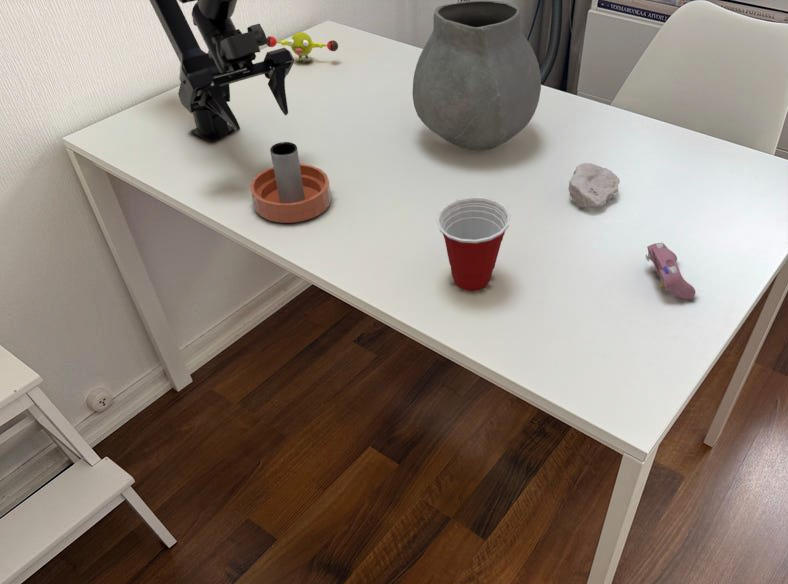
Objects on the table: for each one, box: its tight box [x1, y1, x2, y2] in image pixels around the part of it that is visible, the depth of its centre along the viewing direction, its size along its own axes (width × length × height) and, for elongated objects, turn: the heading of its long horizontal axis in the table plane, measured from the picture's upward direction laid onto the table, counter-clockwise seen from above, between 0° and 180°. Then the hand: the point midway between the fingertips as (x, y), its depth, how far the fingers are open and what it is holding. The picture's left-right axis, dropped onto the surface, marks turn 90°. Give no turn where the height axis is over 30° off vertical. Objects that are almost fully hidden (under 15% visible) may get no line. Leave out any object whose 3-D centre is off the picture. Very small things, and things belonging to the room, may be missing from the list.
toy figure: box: [266, 31, 339, 64], centre depth 161 cm, size 18×6×7 cm, turn 81°
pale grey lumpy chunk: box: [568, 162, 621, 209], centre depth 120 cm, size 9×6×10 cm
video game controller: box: [645, 241, 696, 300], centre depth 103 cm, size 10×5×7 cm, turn 5°
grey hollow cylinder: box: [269, 141, 305, 203], centre depth 117 cm, size 4×4×10 cm
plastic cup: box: [435, 196, 512, 292], centre depth 101 cm, size 11×11×12 cm
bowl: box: [249, 163, 332, 224], centre depth 119 cm, size 14×14×4 cm
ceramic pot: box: [411, 0, 542, 151], centre depth 128 cm, size 24×24×25 cm
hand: (263, 121), depth 115 cm, fingers open, 9 cm apart
